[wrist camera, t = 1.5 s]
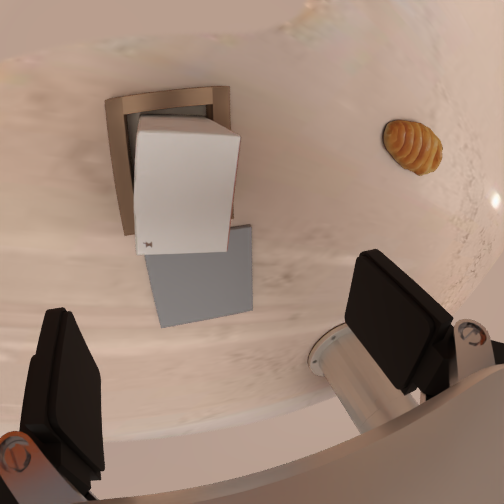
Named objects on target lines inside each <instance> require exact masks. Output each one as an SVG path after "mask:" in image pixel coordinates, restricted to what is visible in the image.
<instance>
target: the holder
mask: <svg viewBox="0 0 504 504" xmlns="http://www.w3.org/2000/svg"><path fill="white" fill-rule="evenodd" d="M195 105H206V118H208V119H210V120H212V121H214V122H216V123H218V124H219V125H221V126H223V127H225V128H227V129H229V130H230V131H231V122H230V86H211V87H197V88H185V89H175V90H165V91H157V92H149V93H142V94H135V95H129V96H122V97H116V98H111V99H107V100H105V110H106V120H107V129H108V138H109V146H110V153H111V161H112V168H113V174H114V181H115V187H116V193H117V199H118V204H119V210H120V215H121V220H122V225H123V230H124V235H125V236H127V235H133V234H135V223H134V176H133V169H132V161H131V153H130V144H129V135H128V125H127V115H126V114H130V113H137V112H144V111H151V110H158V109H166V108H175V107H184V106H195ZM231 219H234V214H233V208H232V216H231Z"/></svg>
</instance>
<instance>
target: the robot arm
mask: <svg viewBox="0 0 504 504" xmlns="http://www.w3.org/2000/svg"><path fill="white" fill-rule="evenodd" d="M452 320H453V317H452V316H451V315H450V314H449V313H448V312H447V311H446V310H445V309H444V308H443V307H442V306H441V305H440V304H439V303H437V302H436V301H435V300H434V299H433V298H432V297H431V296H430V295H429V294H428V293H427V292H426V291H425V290H423V289H422V288H421V287H420V286H419V285H418V284H417V283H416V282H415V281H414V280H412V279H411V278H410V277H409V276H408V275H407V274H406V273H405V272H403V271H402V270H401V269H400V268H399V267H398V266H397V265H395V264H394V263H393V262H392V261H391V260H390V259H389V258H387V257H386V256H385V255H384V254H383V253H382V252H380V251H379V250H378V249H373V250H368V251H363V252H361V253H360V255H359V257H358V258H357V259H356V263H355V268H354V273H353V278H352V283H351V288H350V293H349V298H348V302H347V307H346V312H345V322H346V324H343V325H340V326H338V327H336V328H335V329H333V330H331V331H330V332H328V333H327V334H326V335H325V336H323V337H322V338H321V339H320V340H319V341H318V342H317V344H316V345H315V346H314V348H313V349H312V351H311V353H310V355H309V359H308V365H309V368H310V369H311V371H312V372H313V373H314V374H315V375H317V376H322V377H326V378H327V380H328V382H329V383H330V385H331V386H332V388H333V390H334V391H335V393H336V395H337V396H338V398H339V399H340V401H341V403H342V404H343V406H344V407H345V409H346V411H347V412H348V414H349V416H350V417H351V419H352V421H353V422H354V424H355V426H356V427H357V429H358V430H359V432H360V434H361V435H359V436H357V437H354V438H352V439H350V440H347V441H345V442H343V443H340V444H338V445H336V446H333V447H331V448H328V449H325V450H323V451H320V452H318V453H315V454H313V455H310V456H307V457H304V458H301V459H298V460H295V461H292V462H290V463H286V464H283V465H280V466H277V467H274V468H271V469H267V470H264V471H261V472H257V473H254V474H250V475H246V476H242V477H239V478H235V479H231V480H227V481H222V482H218V483H213V484H209V485H204V486H199V487H194V488H189V489H182V490H177V491H170V492H164V493H158V494H151V495H143V496H134V497H124V498H114V499H104V500H99V499H98V498H97V497H96V496H95V495H94V494H93V493H92V492H91V491H90V489H91V482H90V481H91V480H92V481H93V480H101V473H100V471H104V470H105V462H104V451H103V437H102V417H101V377H100V372H99V369H98V367H97V365H96V363H95V361H94V359H93V357H92V355H91V353H90V351H89V349H88V347H87V345H86V343H85V341H84V338H83V336H82V334H81V332H80V330H79V327H78V325H77V323H76V321H75V318H74V316H73V314H72V312H71V311H68V312H67V311H66V309H65V308H63V307H62V308H55V309H49V310H47V311H46V313H45V316H44V320H43V324H42V328H41V332H40V336H39V341H38V345H37V350H36V355H33V357H32V358H31V361H30V365H29V370H28V376H27V381H26V387H25V393H24V399H23V406H22V413H21V421H20V430H19V431H12V432H8V433H6V434H4V435H3V436H2V437H1V438H0V504H504V343H500V342H496V341H492V340H490V336H489V333H488V331H487V330H486V329H485V327H484V326H482V325H481V324H480V323H478V322H476V321H474V320H470V319H462V320H459V321H458V322H456V324H455V326H454V327H453V326H452V325H451V322H452ZM417 387H418V388H419V389H420V391H421V395H420V405H418V403H417V402H416V401H415V399H414V398H413V397H412V395H411V394H410V393H411V392H413V391H415V390H416V389H417Z"/></svg>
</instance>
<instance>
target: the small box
mask: <svg viewBox="0 0 504 504" xmlns="http://www.w3.org/2000/svg"><path fill="white" fill-rule="evenodd" d="M240 142H241V136H239V135H238V134H236V133H234V132H232V131H230V130H229V129H227V128H225V127H223V126H221V125H219V124H218V123H216V122H214V121H212V120H210V119H208V118H206V117H204V116H195V115H171V114H141V115H140V118H139V123H138V129H137V136H136V151H135V172H134V223H135V247H136V255H154V254H184V253H209V252H227V250H228V242H229V234H230V225H231V216H232V208H233V199H234V191H235V183H236V174H237V166H238V158H239V150H240Z"/></svg>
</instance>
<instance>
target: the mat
mask: <svg viewBox="0 0 504 504" xmlns="http://www.w3.org/2000/svg"><path fill="white" fill-rule="evenodd" d="M145 260H146V265H147V270H148V274H149V279H150V283H151V288H152V292H153V297H154V301H155V305H156V309H157V313H158V317H159V321H160V325H161V328H165V327H170V326H176V325H182V324H187V323H192V322H198V321H203V320H208V319H213V318H218V317H223V316H228V315H233V314H238V313H243V312H247V311H252V310H253V296H252V227H251V225H245V226H238V227H231V228H230V234H229V242H228V250H227V252H209V253H184V254H154V255H145Z"/></svg>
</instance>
